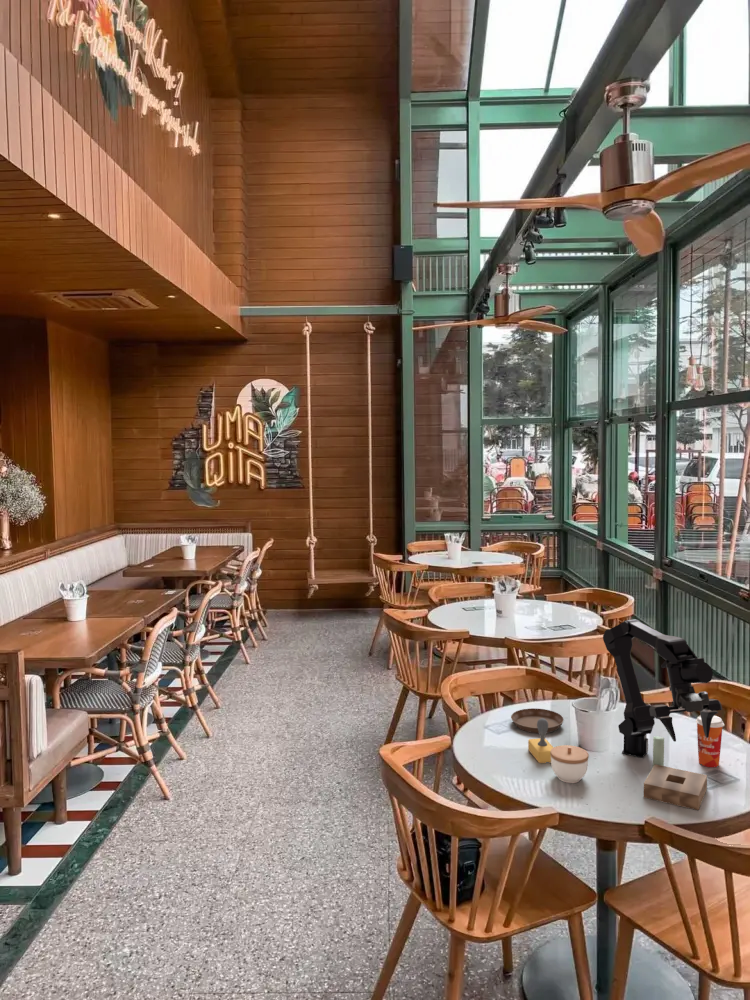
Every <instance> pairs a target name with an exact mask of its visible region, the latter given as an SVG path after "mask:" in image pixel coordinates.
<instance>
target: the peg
mask: <svg viewBox="0 0 750 1000" xmlns="http://www.w3.org/2000/svg"><path fill="white" fill-rule="evenodd" d="M652 740H653V743H652V747H653V748H652V767H653V766H654V765H655V764H656V765H661V766H665V765H664V764H665V763H664V762H665V738H664V737H662V736H660V735H659V736H658V735H655V736H653V738H652Z"/></svg>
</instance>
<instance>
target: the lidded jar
mask: <svg viewBox="0 0 750 1000" xmlns="http://www.w3.org/2000/svg"><path fill="white" fill-rule="evenodd" d="M553 747H554V748H552V749H551V751H550V755H551V762H550V763H551V764H550V765H551V769H552V771H553V772H554V775H555V776H557V778H558V779H559V781H561V782H563V783H567V784H576V783H579V782H580V781H581V779H583V778H584V777H585V775H586V774H587V771H588V767H589V757H590V755H589V752H588V751H587V750H585V749H584V748H582V747H579V746H575V745H570V744H569V745H567V744H566V745H565V744H564V745H557V746H553Z"/></svg>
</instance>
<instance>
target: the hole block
mask: <svg viewBox="0 0 750 1000" xmlns="http://www.w3.org/2000/svg"><path fill="white" fill-rule="evenodd" d="M707 790H708V775H707V774H703V773H698V772H693V771H688V770H685V769H679V768H675V767H670V766H665V765H664V766H661V765H656V764H655V765H654V766H653V765H652V768H651V770H650V772H649V774H648V775H647V777H646V779H645V780H644V782H643V798H644V799H649V800H652V801H657V802H662V803H666V804H670V805H674V806H679V807H683V808H687V809H692V810H695V811H699V810H700V808H701V805H702V802H703V800H704V797H705V795H706V792H707Z"/></svg>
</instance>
